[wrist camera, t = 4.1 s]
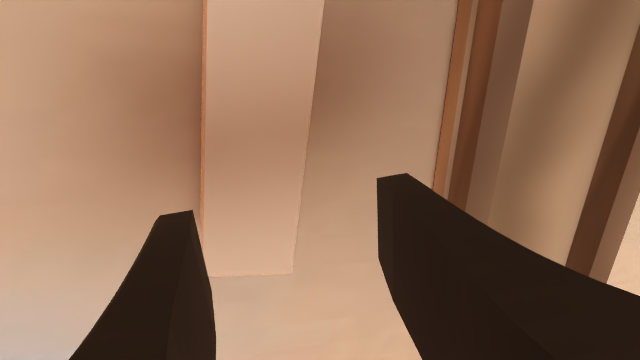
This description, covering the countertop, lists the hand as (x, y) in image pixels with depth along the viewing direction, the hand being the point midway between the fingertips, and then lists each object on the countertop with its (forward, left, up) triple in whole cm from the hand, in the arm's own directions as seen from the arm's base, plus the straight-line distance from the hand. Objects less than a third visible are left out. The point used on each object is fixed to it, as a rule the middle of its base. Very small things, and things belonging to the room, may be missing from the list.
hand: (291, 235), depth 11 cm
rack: (-11, +3, -9) cm, 15 cm away
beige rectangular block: (0, 0, -10) cm, 10 cm away
